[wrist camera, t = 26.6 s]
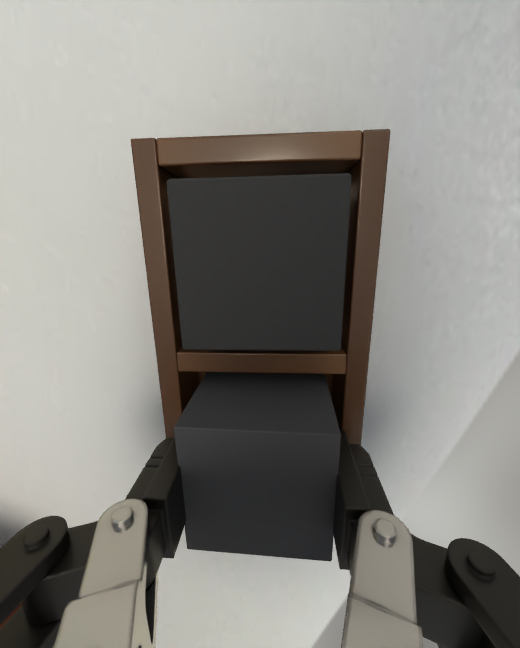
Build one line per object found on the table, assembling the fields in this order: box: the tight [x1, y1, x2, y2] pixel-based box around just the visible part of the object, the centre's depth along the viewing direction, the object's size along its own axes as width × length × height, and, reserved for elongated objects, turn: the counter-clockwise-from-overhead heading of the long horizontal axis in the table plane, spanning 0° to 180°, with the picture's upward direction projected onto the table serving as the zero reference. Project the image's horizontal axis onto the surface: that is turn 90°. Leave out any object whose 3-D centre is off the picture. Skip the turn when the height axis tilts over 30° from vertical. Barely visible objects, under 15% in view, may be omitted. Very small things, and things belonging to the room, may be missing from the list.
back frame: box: [131, 129, 390, 445], centre depth 12 cm, size 8×15×3 cm, turn 1°
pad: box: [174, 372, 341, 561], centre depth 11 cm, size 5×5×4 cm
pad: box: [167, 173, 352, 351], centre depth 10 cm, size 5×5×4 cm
